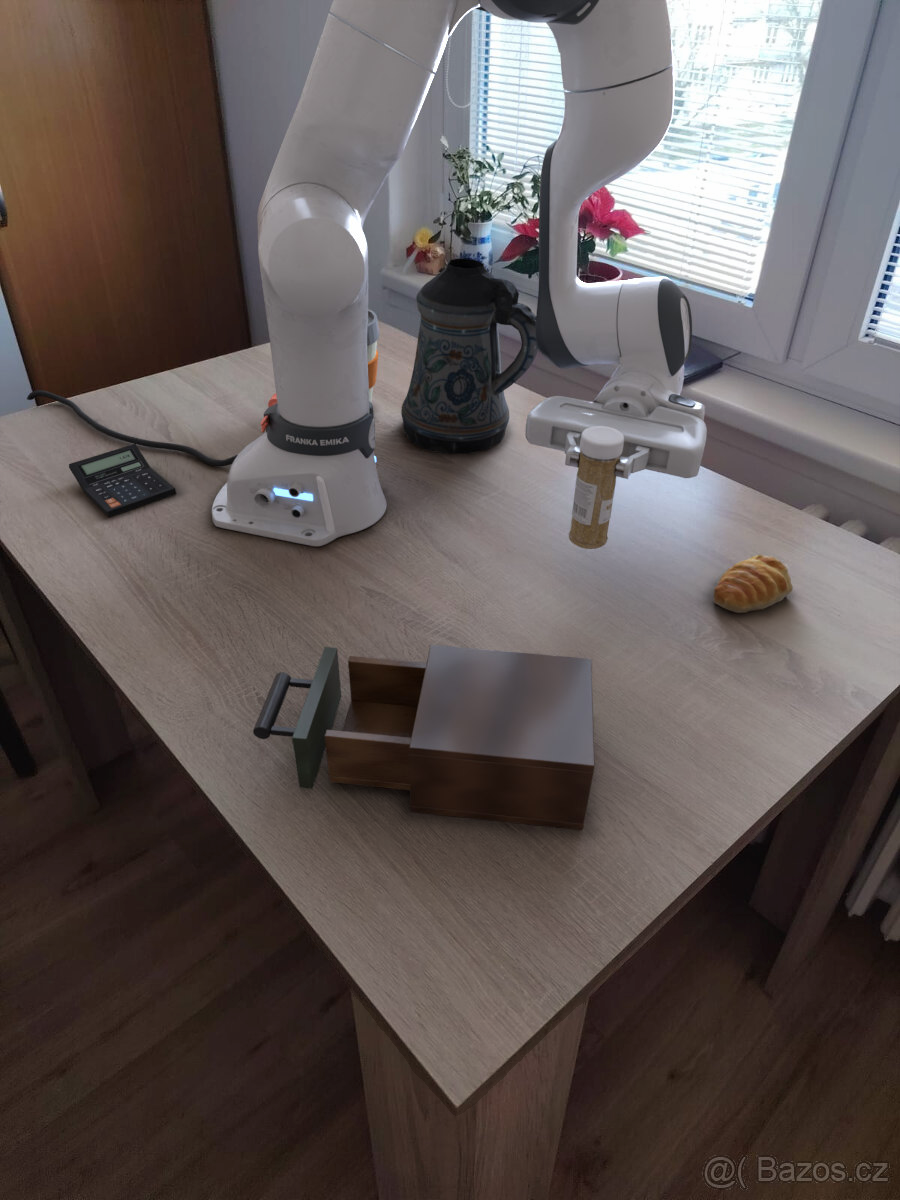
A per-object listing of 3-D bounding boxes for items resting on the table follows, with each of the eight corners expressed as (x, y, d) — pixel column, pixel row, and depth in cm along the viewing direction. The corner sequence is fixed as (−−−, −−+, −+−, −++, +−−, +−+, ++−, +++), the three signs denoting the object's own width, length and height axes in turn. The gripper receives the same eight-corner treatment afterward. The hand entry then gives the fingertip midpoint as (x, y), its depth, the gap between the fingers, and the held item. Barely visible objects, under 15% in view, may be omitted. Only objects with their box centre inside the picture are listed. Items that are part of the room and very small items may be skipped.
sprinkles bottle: (613, 548, 94) (631, 441, 86) (575, 552, 93) (590, 445, 85) (598, 526, 98) (615, 422, 89) (562, 530, 97) (575, 425, 89)
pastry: (745, 627, 91) (753, 599, 88) (695, 597, 95) (702, 570, 93) (794, 595, 95) (803, 568, 93) (744, 568, 100) (752, 542, 97)
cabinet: (410, 812, 70) (409, 747, 65) (430, 707, 80) (430, 644, 75) (582, 830, 69) (594, 765, 64) (581, 721, 79) (591, 658, 74)
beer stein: (400, 408, 133) (397, 245, 118) (520, 407, 134) (532, 245, 119) (402, 456, 120) (398, 280, 105) (534, 455, 121) (550, 281, 106)
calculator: (108, 517, 106) (103, 497, 104) (73, 482, 113) (67, 462, 111) (176, 493, 111) (172, 474, 109) (138, 461, 118) (134, 442, 116)
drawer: (251, 783, 71) (241, 732, 67) (286, 691, 80) (279, 642, 76) (454, 804, 70) (456, 754, 66) (468, 708, 79) (470, 659, 75)
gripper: (548, 374, 100) (508, 419, 90) (719, 407, 94) (697, 460, 84) (543, 422, 104) (504, 470, 94) (707, 456, 98) (684, 513, 88)
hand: (596, 466), depth 89 cm, fingers closed on sprinkles bottle, 4 cm apart
